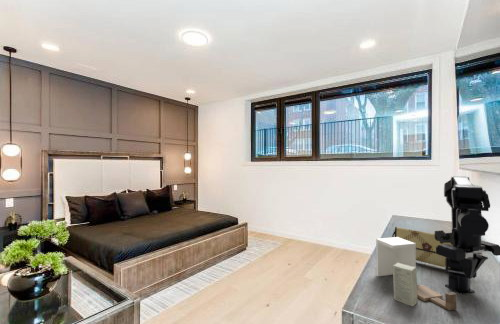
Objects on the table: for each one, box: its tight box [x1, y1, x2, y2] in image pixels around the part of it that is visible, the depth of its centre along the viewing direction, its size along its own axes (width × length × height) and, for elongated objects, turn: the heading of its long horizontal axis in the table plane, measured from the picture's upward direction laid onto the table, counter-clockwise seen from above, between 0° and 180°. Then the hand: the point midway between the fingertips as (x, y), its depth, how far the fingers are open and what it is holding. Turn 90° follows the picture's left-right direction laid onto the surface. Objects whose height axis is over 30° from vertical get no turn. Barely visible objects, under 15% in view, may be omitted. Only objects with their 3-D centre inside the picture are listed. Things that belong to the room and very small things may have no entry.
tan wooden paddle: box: [417, 284, 457, 312], centre depth 87 cm, size 8×15×5 cm, turn 13°
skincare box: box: [392, 262, 419, 307], centre depth 86 cm, size 6×4×12 cm
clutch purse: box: [391, 226, 451, 273], centre depth 116 cm, size 30×7×15 cm, turn 41°
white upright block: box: [375, 236, 417, 277], centre depth 102 cm, size 11×9×16 cm
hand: (468, 278), depth 75 cm, fingers closed
